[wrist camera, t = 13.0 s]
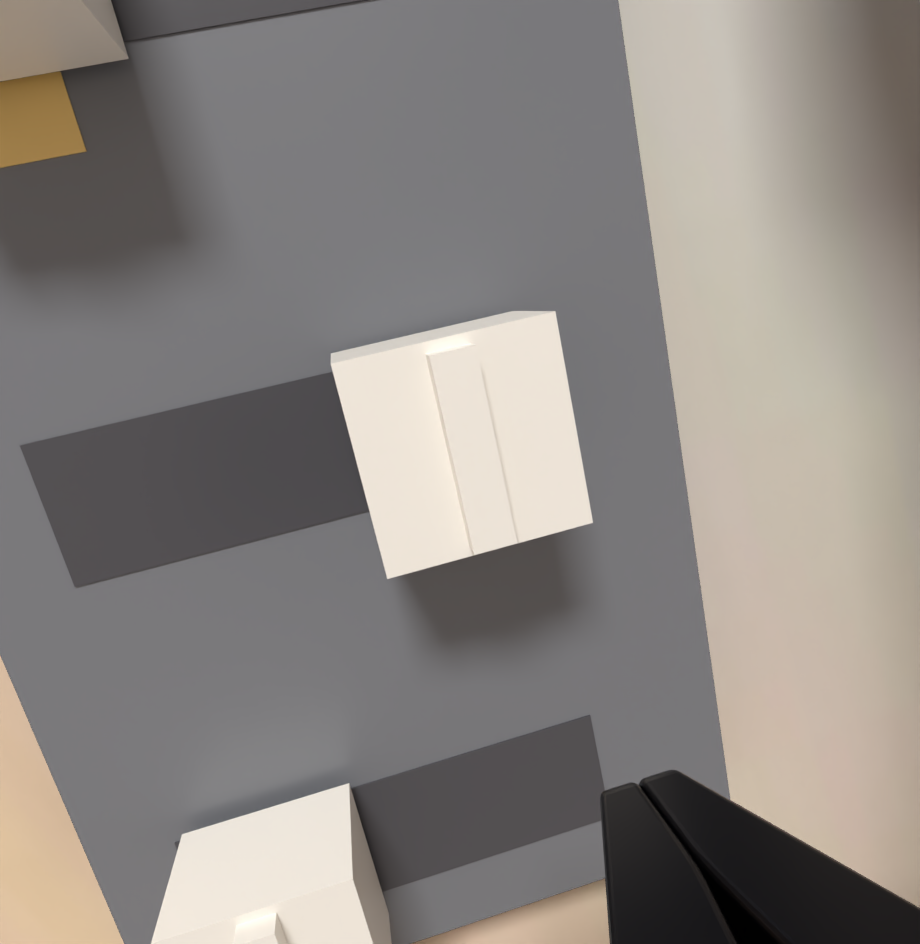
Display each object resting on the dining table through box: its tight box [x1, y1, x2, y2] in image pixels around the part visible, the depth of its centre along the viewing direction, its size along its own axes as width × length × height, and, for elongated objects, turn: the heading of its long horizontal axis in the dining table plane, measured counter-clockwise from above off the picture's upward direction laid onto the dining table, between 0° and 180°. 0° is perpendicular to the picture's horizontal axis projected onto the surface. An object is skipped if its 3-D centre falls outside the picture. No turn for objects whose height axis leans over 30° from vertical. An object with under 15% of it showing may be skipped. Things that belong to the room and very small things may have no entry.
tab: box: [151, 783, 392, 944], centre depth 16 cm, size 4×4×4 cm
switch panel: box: [0, 0, 730, 944], centre depth 17 cm, size 16×27×2 cm, turn 13°
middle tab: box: [331, 311, 593, 579], centre depth 14 cm, size 4×4×4 cm
